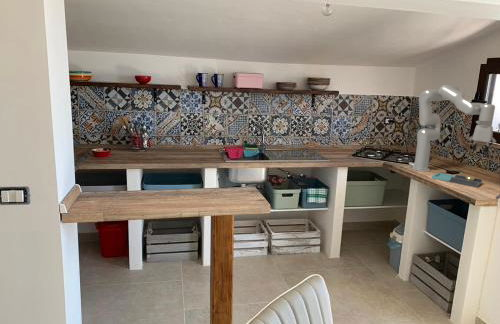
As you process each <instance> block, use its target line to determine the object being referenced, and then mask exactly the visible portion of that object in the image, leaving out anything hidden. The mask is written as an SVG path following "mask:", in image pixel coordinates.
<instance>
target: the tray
mask: <svg viewBox="0 0 500 324" xmlns="http://www.w3.org/2000/svg"><path fill="white" fill-rule="evenodd" d="M451 177H455V175H452V174H447V173H443V172H442V173H441V172H438V173H435V174H432V176H431V179H433V180H438V181H443V182H447V183H451V182H450V179H451Z"/></svg>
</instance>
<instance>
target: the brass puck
mask: <svg viewBox="0 0 500 324" xmlns="http://www.w3.org/2000/svg"><path fill="white" fill-rule="evenodd" d="M465 176H466V180H471V181H474V179H475V178H476V177H475V176H470V175H465Z"/></svg>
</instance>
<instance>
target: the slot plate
mask: <svg viewBox="0 0 500 324" xmlns="http://www.w3.org/2000/svg"><path fill="white" fill-rule="evenodd" d="M454 176H455V177H451V179H450V182H449V183H453V184H457V185H461V186H462V185H463V186H466V187H467V186H468V187H472V188H478V187H479V186H481V185H482V184H483V179H482V178H477V177H475V179H474V181H471V180H466V176H467V175H462V174H461V175H460V174H455V175H454Z"/></svg>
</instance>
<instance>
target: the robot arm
mask: <svg viewBox="0 0 500 324" xmlns="http://www.w3.org/2000/svg"><path fill="white" fill-rule="evenodd" d="M445 100H448V101H450V102H451V103H452V104H454V106H455V108H457V109H458V110H459V111H461V112H462V113H463V114H466V115H471V116H473V115H474V116H475V115H478V116H479V117H478V120H475V123H476V126H475V128H474V132H473V134H472V135H471V136H470V137H468V139H469V141H470V142H471V143H472V145H473V147H472V150H473V152H474V151H477V143H478V142H482V143H483V142H484V143H486V146H485V149H484V153H487V152H489V150H490V149H489V148H490V146H492V145H493V144H495V143H497V140H496V139H495V138H494V137H493V135H494V134H493V133H494V126H493V120H494V115H495V110H496V106H495V105H494V104H492V103H491V104H490V103H482V102H470V101H468V100H466V99H465V94H464V92H462V91H461V90H460V88H459V86H458V85H456V84H444V85H441V86H440V87H439V89H437V88H436V89H435V88H434V89H433V88H429V89H425V90H423V91H422V92H421V93H420V94H419V96H418V105H419V111H418V115H419V116H418V118H419V119H418V121H419V124H420V126H422V127H424V128H420V129H419V130H417V134H416V142H417V143H416V150H415V156H414V157H415V158H414V162H410V161H409V162H408V166H411V169H412V171H413V170H414V171H418V172H419V171H420V172H429V171H430V168H429V162H430V155H431V149H432V148H431V147H432V145H431V143H430V141H437V140H438V139H439V138H440V136H441V117H440V115H438V114H437V113H433V107H432V103H431V102H441V101H445Z"/></svg>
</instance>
